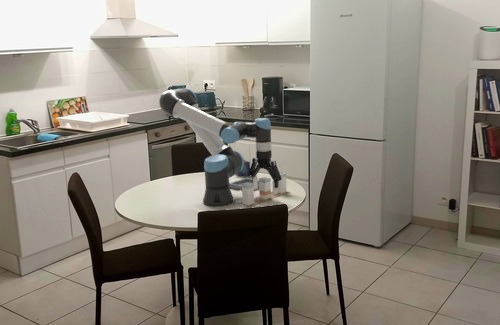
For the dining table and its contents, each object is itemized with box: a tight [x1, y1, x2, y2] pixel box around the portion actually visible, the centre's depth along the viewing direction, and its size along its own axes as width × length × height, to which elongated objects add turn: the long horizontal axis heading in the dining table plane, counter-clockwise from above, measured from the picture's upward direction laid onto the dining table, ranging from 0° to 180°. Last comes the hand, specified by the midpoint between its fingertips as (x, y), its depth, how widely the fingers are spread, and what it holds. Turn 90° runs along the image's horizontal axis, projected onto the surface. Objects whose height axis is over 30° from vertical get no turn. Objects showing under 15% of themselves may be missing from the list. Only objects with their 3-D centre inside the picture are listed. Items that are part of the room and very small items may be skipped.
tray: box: [229, 177, 259, 191], centre depth 276 cm, size 14×16×2 cm
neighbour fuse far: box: [278, 171, 288, 194], centre depth 261 cm, size 4×4×10 cm
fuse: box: [241, 182, 255, 207], centre depth 244 cm, size 4×4×10 cm
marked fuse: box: [258, 176, 272, 200], centre depth 253 cm, size 4×4×10 cm
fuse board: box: [238, 191, 291, 208], centre depth 254 cm, size 30×8×1 cm, turn 135°
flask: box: [236, 157, 251, 178], centre depth 300 cm, size 9×3×11 cm, turn 65°
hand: (265, 191), depth 253 cm, fingers open, 13 cm apart
